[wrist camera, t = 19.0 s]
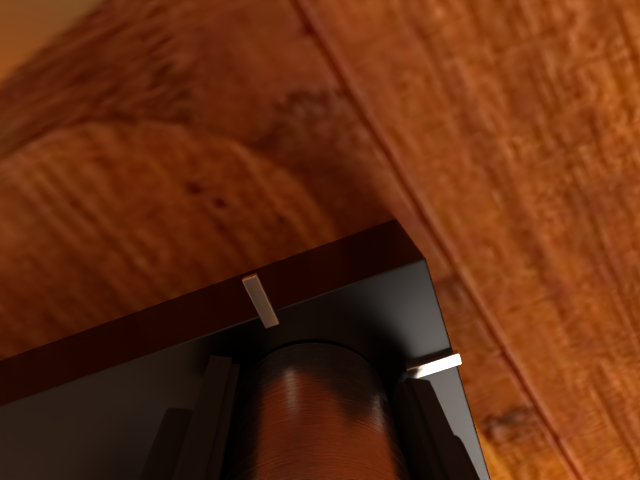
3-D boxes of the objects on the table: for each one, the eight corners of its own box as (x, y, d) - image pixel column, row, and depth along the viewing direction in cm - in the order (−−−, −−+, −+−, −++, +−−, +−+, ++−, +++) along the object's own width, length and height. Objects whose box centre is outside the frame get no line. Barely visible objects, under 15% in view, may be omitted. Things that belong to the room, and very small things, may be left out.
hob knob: (228, 453, 11) (192, 653, 7) (244, 332, 10) (210, 497, 6) (367, 465, 12) (404, 659, 8) (401, 350, 11) (466, 515, 7)
